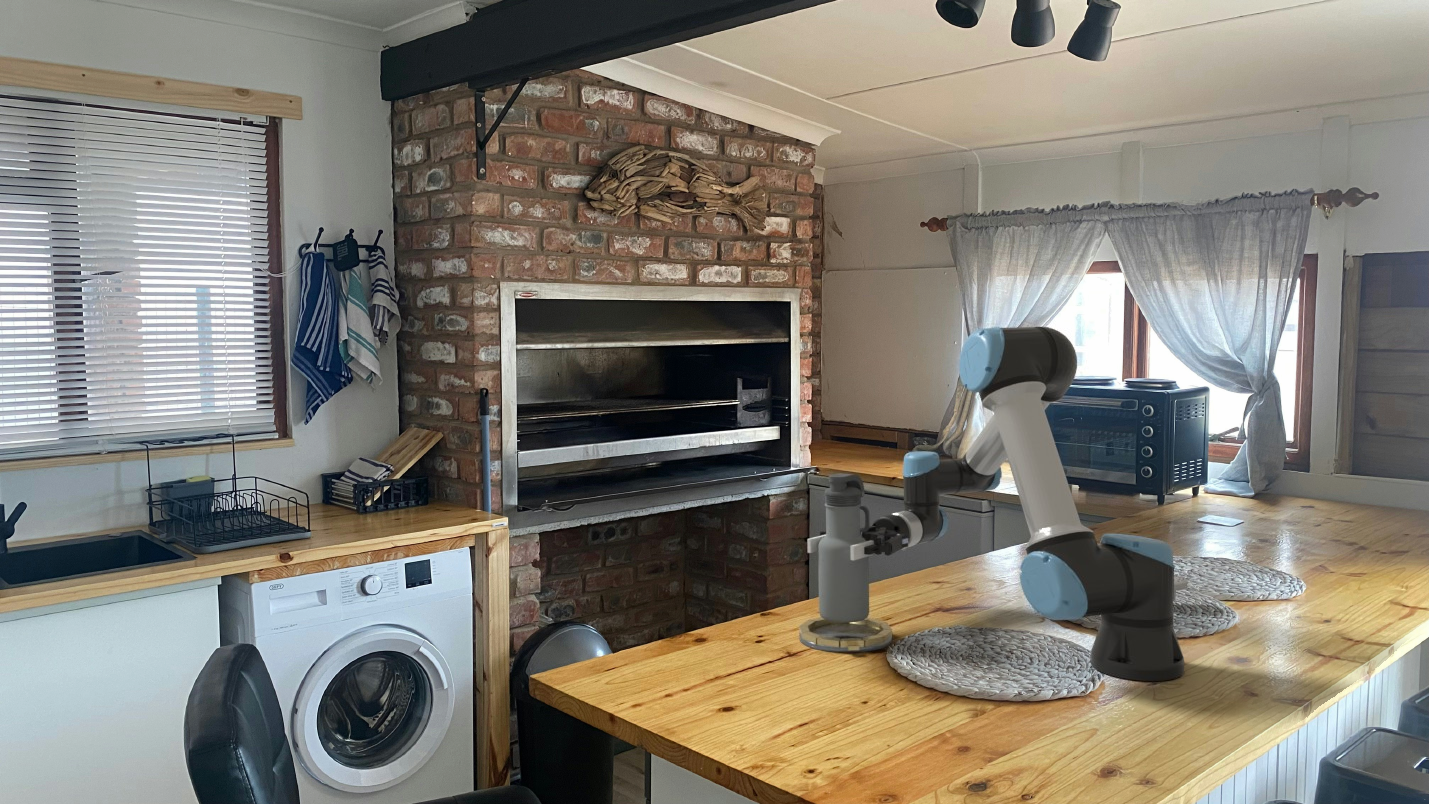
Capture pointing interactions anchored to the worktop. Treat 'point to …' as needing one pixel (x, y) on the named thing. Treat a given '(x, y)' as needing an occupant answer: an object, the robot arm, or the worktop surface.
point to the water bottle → (843, 553)
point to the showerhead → (1179, 584)
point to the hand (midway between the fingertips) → (830, 549)
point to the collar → (845, 635)
